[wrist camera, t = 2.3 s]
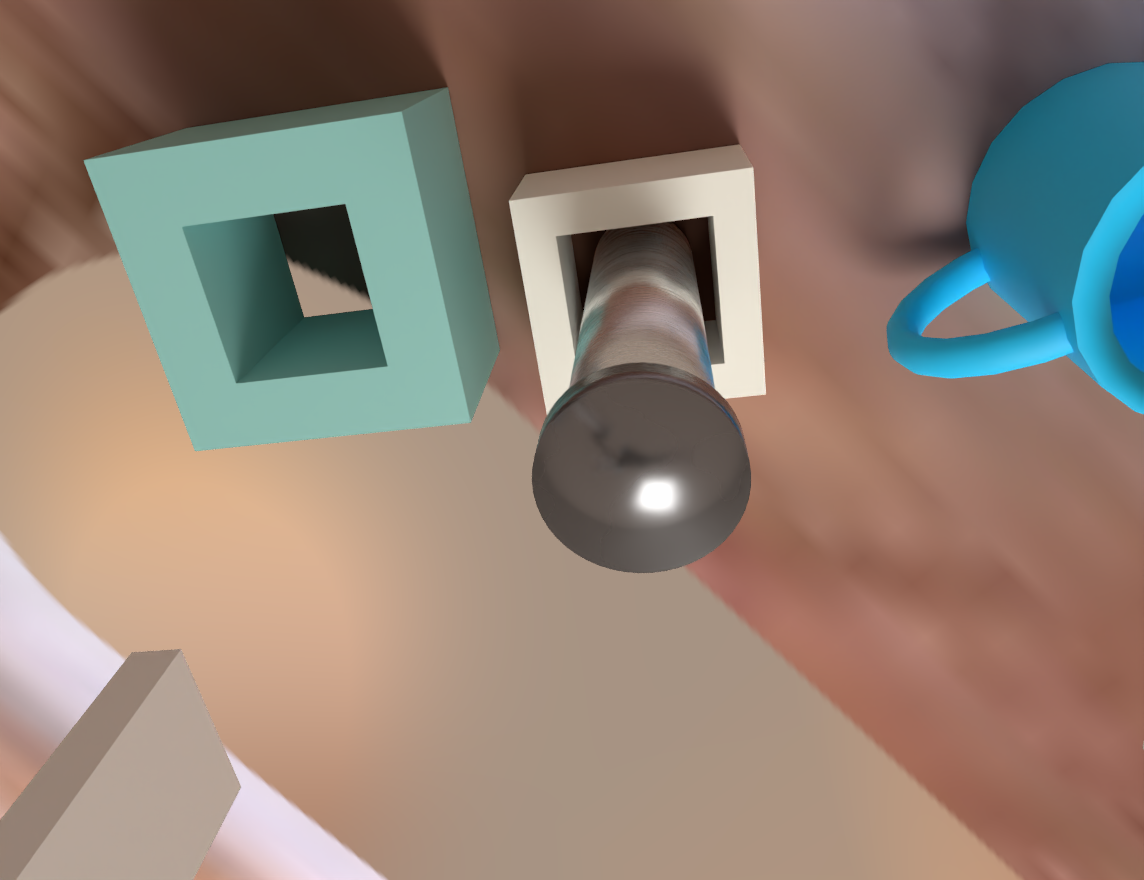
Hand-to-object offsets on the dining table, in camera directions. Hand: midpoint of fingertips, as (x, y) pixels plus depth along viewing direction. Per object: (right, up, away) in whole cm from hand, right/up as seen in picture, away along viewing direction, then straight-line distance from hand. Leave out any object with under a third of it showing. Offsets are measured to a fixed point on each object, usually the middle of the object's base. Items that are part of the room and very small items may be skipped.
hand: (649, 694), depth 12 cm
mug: (+14, +11, +17) cm, 24 cm away
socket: (-9, +10, +19) cm, 23 cm away
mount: (+1, +10, +18) cm, 21 cm away
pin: (+1, +10, +18) cm, 21 cm away
